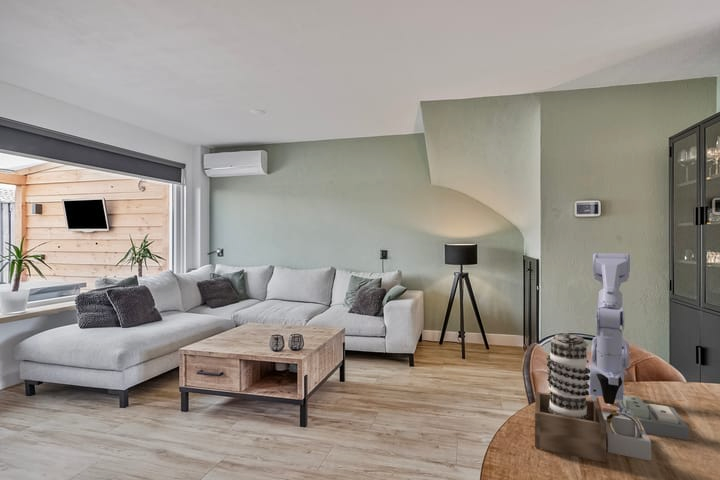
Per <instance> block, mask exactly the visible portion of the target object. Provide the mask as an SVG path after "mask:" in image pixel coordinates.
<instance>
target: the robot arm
mask: <svg viewBox="0 0 720 480" xmlns="http://www.w3.org/2000/svg"><path fill="white" fill-rule="evenodd" d="M630 270H631V255H630V254H629V253H612V252H611V253H609V252H608V253H607V252H603V253H602V252H594V253H593V255H592V271H593V277H594V279H595V280H596V281H598V282H600V284H601V287H602V288H601V289H600V290H599V291H598V300H597V303H598V304H597V309H596V310H595V326H596V336H595V337H593V338H592V340H591V349H590V359H591V363H592V364H589V365H588V367H587V368H588V369H590V373H588V374H587V375H588V376H590V380H587V382H586V383H587V384H589V388H588V389H587V391H588V392H589V396H590V398H591V395H592V396H603V399H604V402H605V403H607V404H614V402H615V399H618V400H623V395H625V393H624V391H625V390H624V389H625V385H624V384H625V383H624V381H625V378H624V377H625V375H628V371H627V370H626V369H628V368H630V349H629V348H630V346H629V344H628V341H627V340H626V339H624V338H623V331H624V329H625V312H624V306H623V293H622V292H621V290H620V288H621V286H622V283H626V282H628V280H629V278H630V272H631V271H630ZM621 327H622V329H621Z"/></svg>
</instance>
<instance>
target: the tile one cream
mask: <svg viewBox="0 0 720 480" xmlns="http://www.w3.org/2000/svg"><path fill="white" fill-rule="evenodd" d="M649 404H650V406H649V409H650V410H651V412H652V414H653V415H654V417H655V418H656V420H657V421H663V422H669V423H675V424H678V423H679V420H678V419H677V418H676V416H675V415H674V414H673V413H672V411H671V410H670V409H669V407H670V406H667V405H662V404H661V405H660V404H655V403H654V404H653V403H649Z"/></svg>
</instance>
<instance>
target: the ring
mask: <svg viewBox="0 0 720 480" xmlns="http://www.w3.org/2000/svg"><path fill="white" fill-rule="evenodd" d="M628 410H629V409H627V410H625V408H623V409H621V410H620V409H619V408H618V410H615V411H613V412H612V413H611V414H610V415H609V416H608V417H607V422H608V423H609V426H610V428H611V431H612V433H613V434H617V433H616V432H615V431H614V429H613V427H612V423H611V421H612V418H613V417H615V416H619V415H621V416H626V417H628V418H630V419H631V420H632V421H633V422H634V424H635V426H636V428H637V436H636V438H641V433H642V426H641V424H640V422H639V421H638V419H637V418H636V417H635V416H633V413H632V414H631V411H628Z"/></svg>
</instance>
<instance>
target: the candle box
mask: <svg viewBox="0 0 720 480" xmlns="http://www.w3.org/2000/svg"><path fill="white" fill-rule="evenodd" d="M549 406H550V393H547V392H541V391H535V408H534V410H535V411H534V412H535V413H534V448H535V447H537V448H536V449H539V448H542V449H541V450H544V449H546V450H545V451H549V450H550V452H554V453H560V454H563V453H564V455H568V456H574V457H578V458H583V459H588V460H593V461H597V462H603V463H607V448H606V423H605V420H604V417H603V414H602V412H601V409H600V406H599V403H598V401H593V400H591V399H587V398H586V406H587V415H588V420H584V419H578V418H572V417H567V416H561V415H555V414H549V411H548V407H549Z"/></svg>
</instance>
